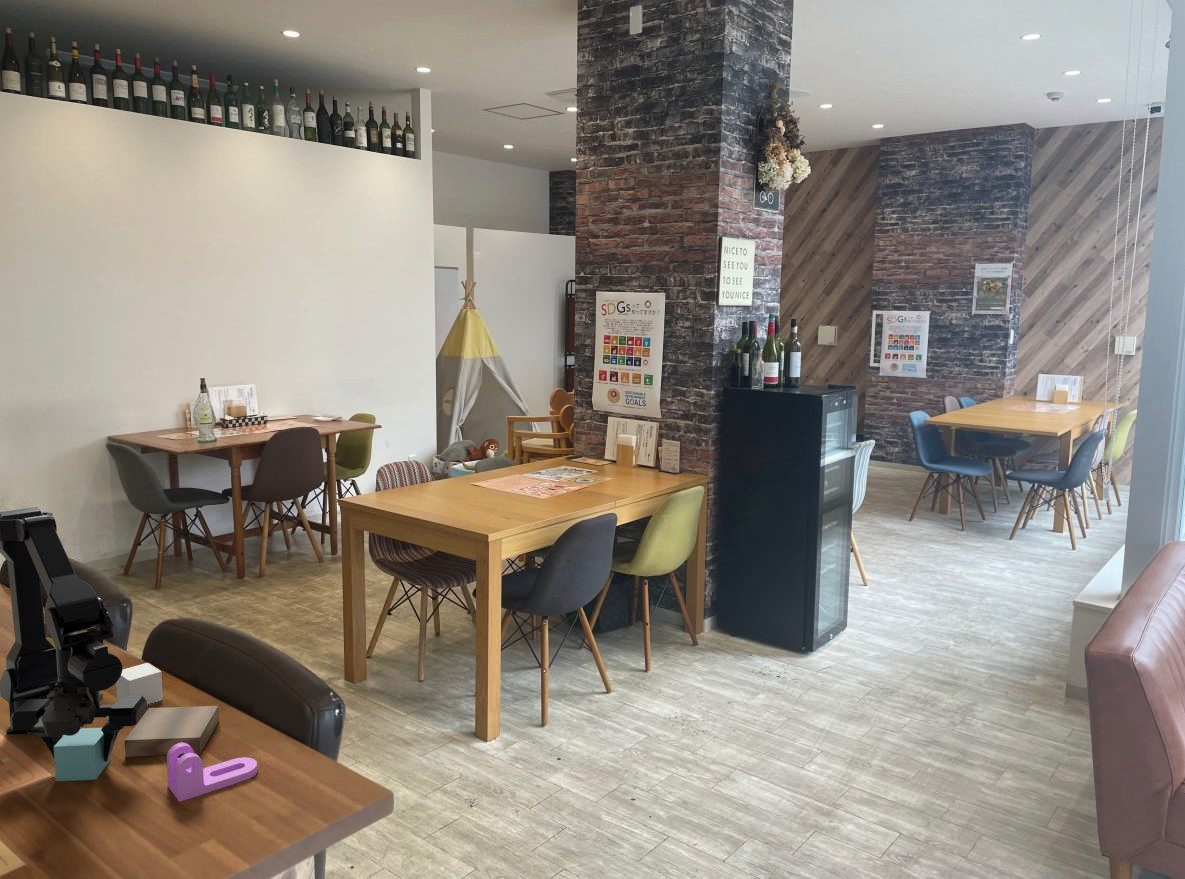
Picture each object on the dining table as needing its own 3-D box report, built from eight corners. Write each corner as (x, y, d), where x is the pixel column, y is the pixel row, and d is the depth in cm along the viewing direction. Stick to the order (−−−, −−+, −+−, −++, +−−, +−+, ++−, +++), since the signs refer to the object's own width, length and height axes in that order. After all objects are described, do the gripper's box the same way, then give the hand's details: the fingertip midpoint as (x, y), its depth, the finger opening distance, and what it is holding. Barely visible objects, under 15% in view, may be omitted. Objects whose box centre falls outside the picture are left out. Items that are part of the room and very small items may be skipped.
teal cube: (55, 781, 142) (53, 746, 141) (72, 762, 148) (70, 728, 147) (96, 780, 143) (94, 745, 142) (110, 761, 148) (108, 727, 148)
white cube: (117, 701, 170) (115, 671, 169) (149, 691, 175) (147, 662, 174) (130, 710, 166) (129, 680, 165) (162, 700, 171) (161, 671, 170)
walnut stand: (125, 756, 150) (124, 740, 149) (149, 723, 161) (149, 708, 161) (200, 753, 152) (199, 737, 151) (218, 721, 163) (218, 705, 163)
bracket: (179, 802, 137) (177, 760, 136) (168, 787, 141) (166, 746, 140) (262, 775, 146) (261, 735, 145) (249, 761, 150) (248, 723, 149)
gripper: (-12, 695, 133) (-5, 791, 136) (121, 691, 136) (125, 785, 138) (24, 665, 144) (30, 754, 146) (146, 662, 147) (150, 749, 149)
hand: (83, 761), depth 145 cm, fingers open, 7 cm apart
